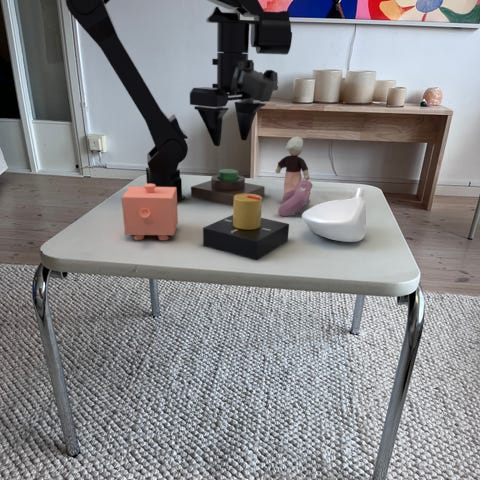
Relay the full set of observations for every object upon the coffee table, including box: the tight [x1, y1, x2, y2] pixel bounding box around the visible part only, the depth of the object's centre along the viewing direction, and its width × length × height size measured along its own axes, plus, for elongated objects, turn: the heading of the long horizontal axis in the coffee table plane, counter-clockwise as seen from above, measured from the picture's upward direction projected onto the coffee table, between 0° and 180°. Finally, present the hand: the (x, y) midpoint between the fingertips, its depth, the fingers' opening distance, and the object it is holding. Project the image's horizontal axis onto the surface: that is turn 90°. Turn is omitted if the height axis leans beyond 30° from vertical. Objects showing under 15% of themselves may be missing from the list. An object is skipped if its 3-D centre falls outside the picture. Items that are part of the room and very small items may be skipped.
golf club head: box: [301, 187, 367, 243], centre depth 80 cm, size 10×11×12 cm
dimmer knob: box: [232, 194, 263, 230], centre depth 74 cm, size 4×4×5 cm
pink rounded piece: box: [277, 179, 314, 217], centre depth 92 cm, size 10×5×7 cm, turn 170°
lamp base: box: [190, 174, 266, 207], centre depth 100 cm, size 12×10×4 cm
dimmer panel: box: [202, 214, 290, 261], centre depth 76 cm, size 10×10×3 cm
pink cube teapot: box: [121, 183, 179, 241], centre depth 77 cm, size 8×12×8 cm, turn 1°
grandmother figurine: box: [275, 136, 310, 204], centre depth 94 cm, size 8×4×13 cm, turn 64°
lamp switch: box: [218, 168, 239, 181], centre depth 99 cm, size 4×4×2 cm
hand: (230, 142), depth 94 cm, fingers open, 9 cm apart
